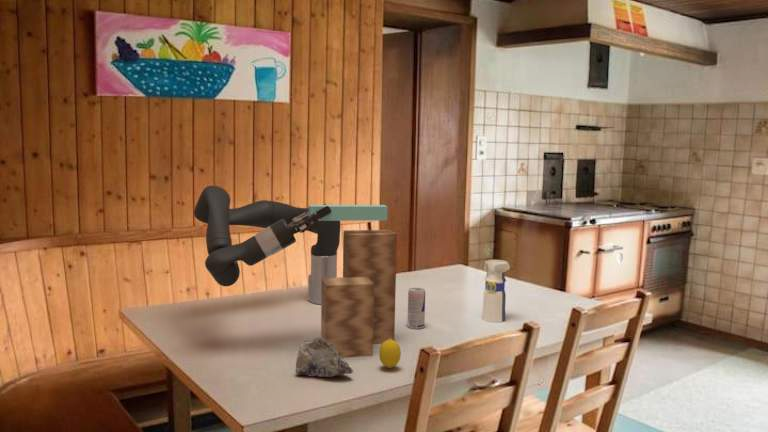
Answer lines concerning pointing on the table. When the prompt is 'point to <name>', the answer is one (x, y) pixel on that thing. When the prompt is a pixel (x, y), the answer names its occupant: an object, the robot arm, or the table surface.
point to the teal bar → (352, 212)
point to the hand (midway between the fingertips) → (328, 207)
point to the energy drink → (416, 308)
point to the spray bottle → (494, 290)
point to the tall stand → (374, 273)
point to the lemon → (389, 353)
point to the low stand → (348, 315)
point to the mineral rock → (320, 359)
